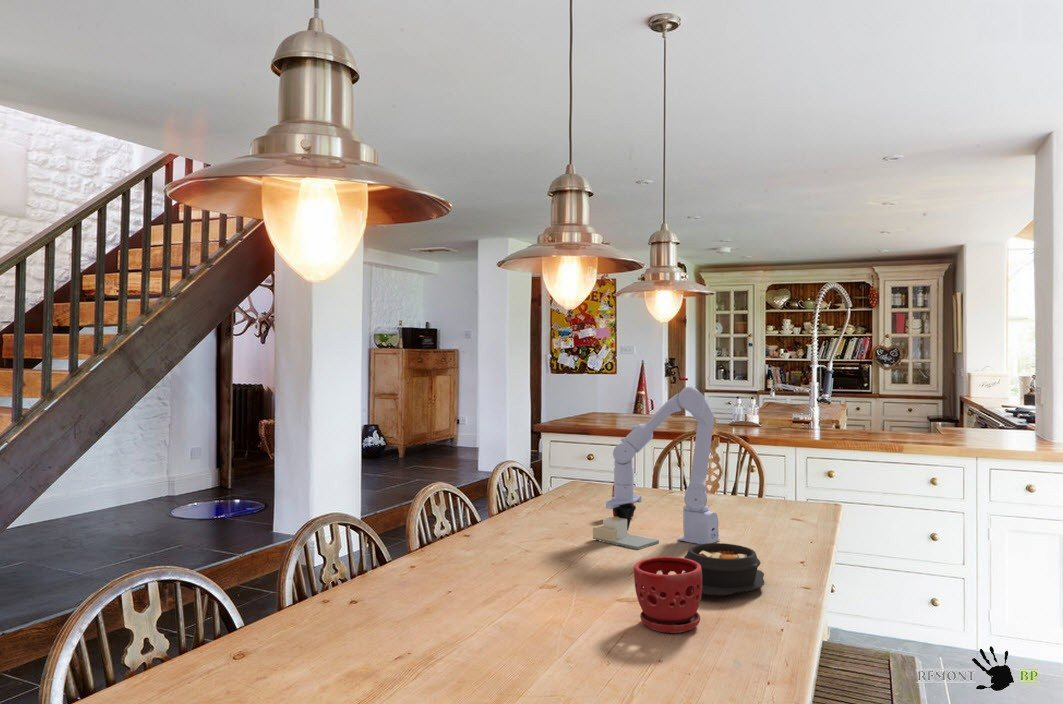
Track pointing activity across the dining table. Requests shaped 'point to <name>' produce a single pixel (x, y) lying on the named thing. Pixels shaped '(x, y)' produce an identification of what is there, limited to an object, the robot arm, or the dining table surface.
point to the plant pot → (669, 593)
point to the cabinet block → (616, 525)
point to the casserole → (726, 568)
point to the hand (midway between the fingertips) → (624, 529)
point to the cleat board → (628, 541)
